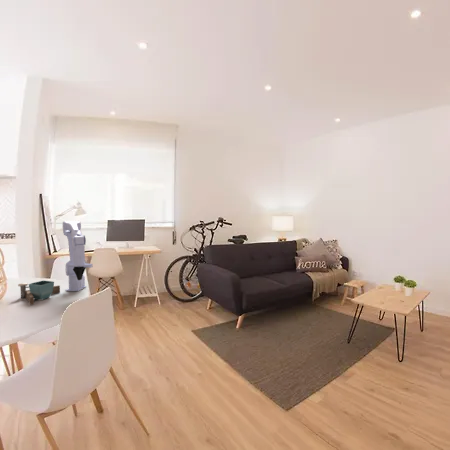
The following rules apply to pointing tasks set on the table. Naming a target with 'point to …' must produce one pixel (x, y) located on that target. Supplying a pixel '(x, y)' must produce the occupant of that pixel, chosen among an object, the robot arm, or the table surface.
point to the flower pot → (41, 289)
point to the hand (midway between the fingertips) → (79, 279)
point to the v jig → (29, 296)
